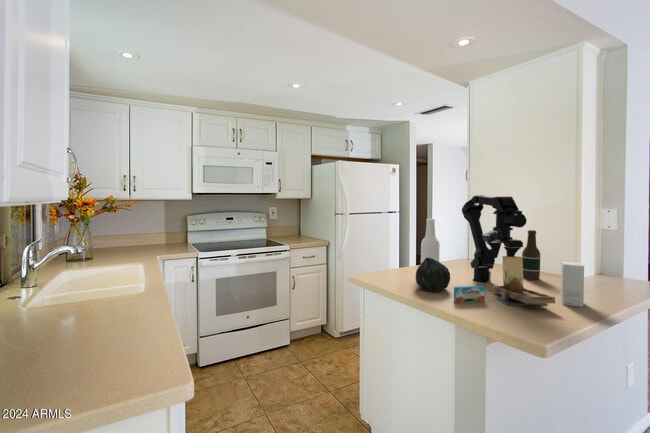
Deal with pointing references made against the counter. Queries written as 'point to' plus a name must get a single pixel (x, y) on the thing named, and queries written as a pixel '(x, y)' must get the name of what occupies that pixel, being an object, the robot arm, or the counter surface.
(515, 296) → the brown wooden tray
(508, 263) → the cylinder
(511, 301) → the pivot stand
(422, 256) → the alcohol
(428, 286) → the squash
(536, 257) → the beer bottle
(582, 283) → the skincare box
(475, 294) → the yogurt
